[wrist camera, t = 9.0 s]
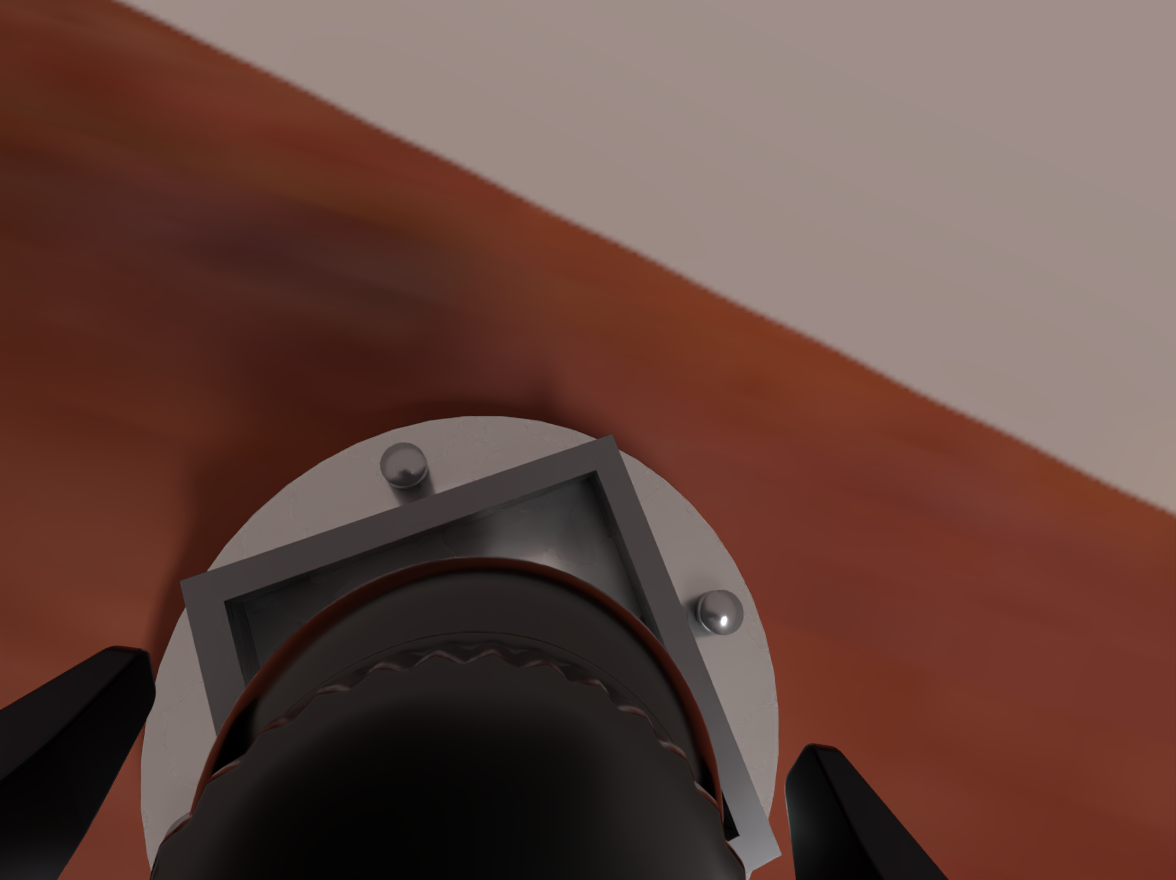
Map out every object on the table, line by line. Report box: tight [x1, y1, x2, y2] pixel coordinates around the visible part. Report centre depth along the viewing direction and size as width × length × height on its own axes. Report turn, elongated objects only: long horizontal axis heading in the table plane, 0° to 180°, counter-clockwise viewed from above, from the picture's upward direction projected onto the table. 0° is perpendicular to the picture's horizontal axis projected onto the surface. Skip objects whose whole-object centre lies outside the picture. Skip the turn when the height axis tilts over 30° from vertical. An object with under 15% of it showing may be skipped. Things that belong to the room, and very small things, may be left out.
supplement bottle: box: [150, 556, 746, 880], centre depth 10 cm, size 7×7×12 cm
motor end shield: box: [141, 416, 782, 880], centre depth 16 cm, size 16×16×3 cm
